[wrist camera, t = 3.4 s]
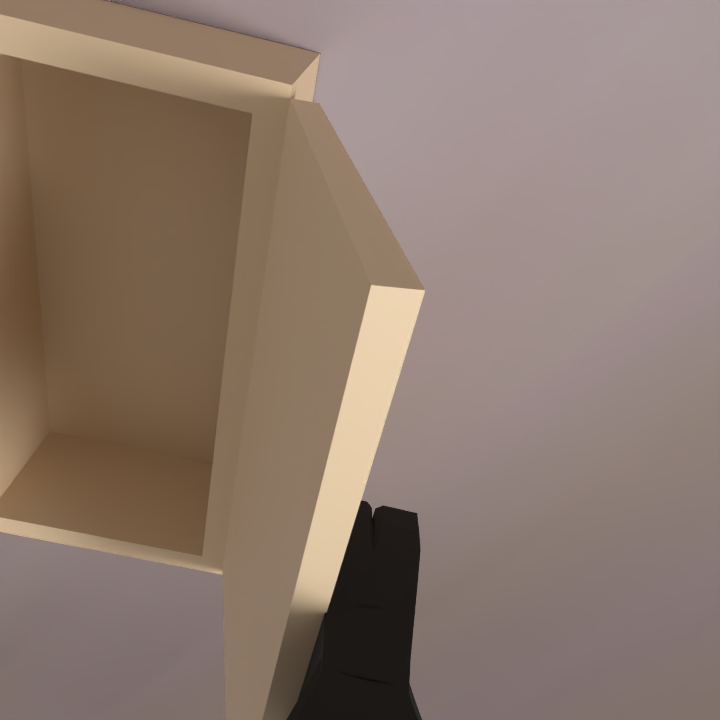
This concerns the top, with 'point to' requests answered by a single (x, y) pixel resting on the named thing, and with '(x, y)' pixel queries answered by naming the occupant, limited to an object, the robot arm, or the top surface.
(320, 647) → the robot arm
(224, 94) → the carton
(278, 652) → the lid
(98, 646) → the top surface
